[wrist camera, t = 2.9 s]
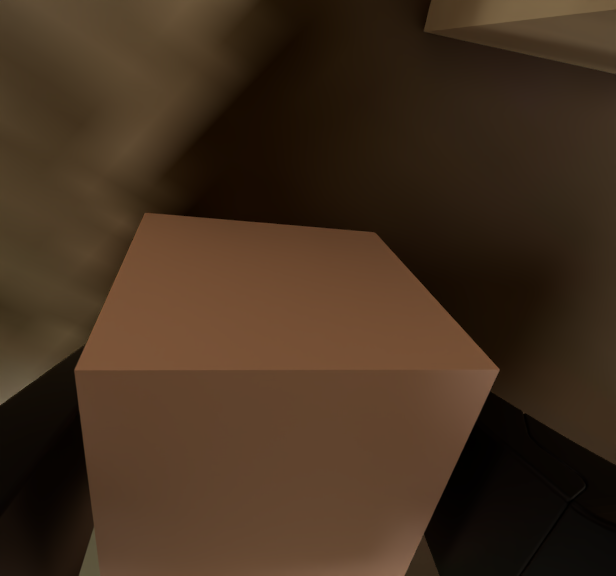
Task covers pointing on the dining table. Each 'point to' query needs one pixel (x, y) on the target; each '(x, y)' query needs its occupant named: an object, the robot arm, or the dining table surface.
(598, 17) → the birch block
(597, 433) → the dining table surface
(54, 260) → the dining table surface
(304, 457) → the terracotta block
